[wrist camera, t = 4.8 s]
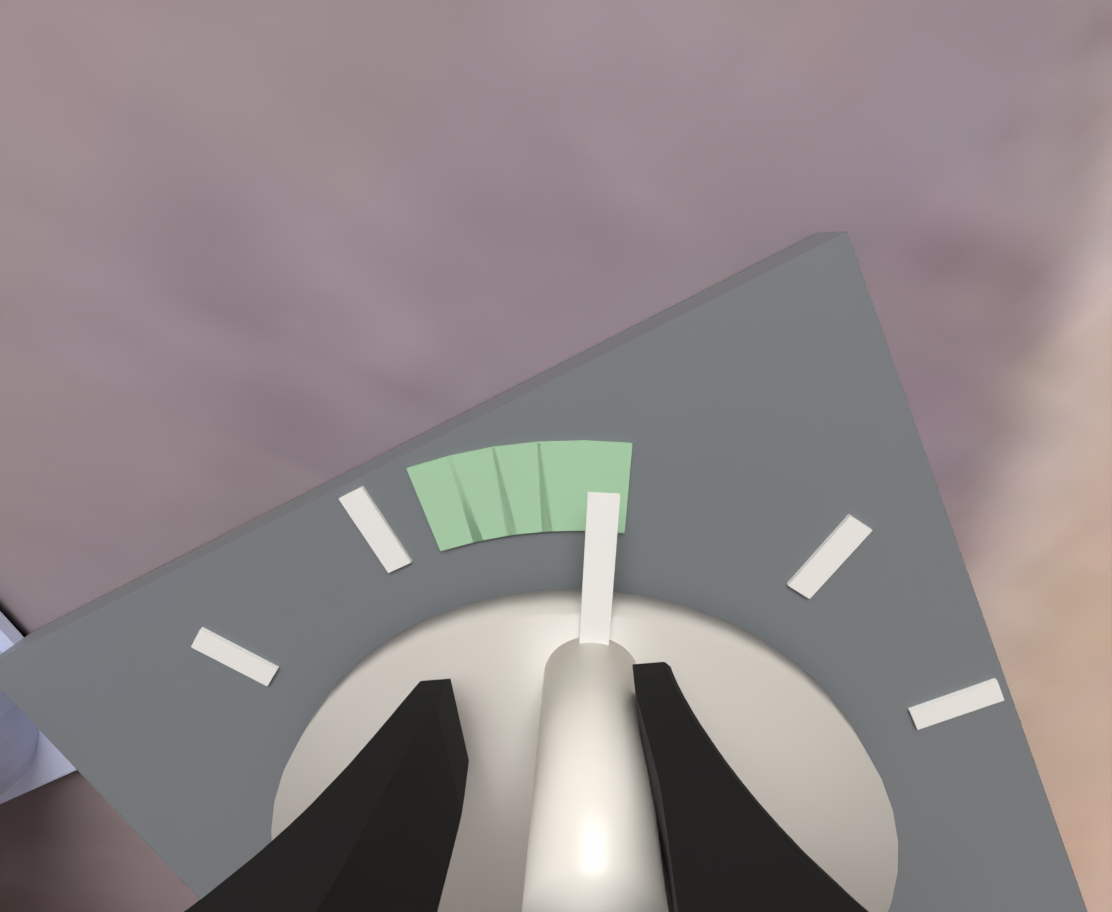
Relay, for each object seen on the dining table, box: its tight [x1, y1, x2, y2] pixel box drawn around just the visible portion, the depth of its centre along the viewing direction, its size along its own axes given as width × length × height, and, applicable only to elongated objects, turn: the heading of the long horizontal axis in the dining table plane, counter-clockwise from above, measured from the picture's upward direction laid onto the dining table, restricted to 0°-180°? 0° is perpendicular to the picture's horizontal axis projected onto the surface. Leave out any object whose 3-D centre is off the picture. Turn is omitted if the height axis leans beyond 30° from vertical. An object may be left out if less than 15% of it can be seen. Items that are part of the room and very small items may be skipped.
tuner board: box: [0, 232, 1087, 912], centre depth 17 cm, size 22×22×2 cm
